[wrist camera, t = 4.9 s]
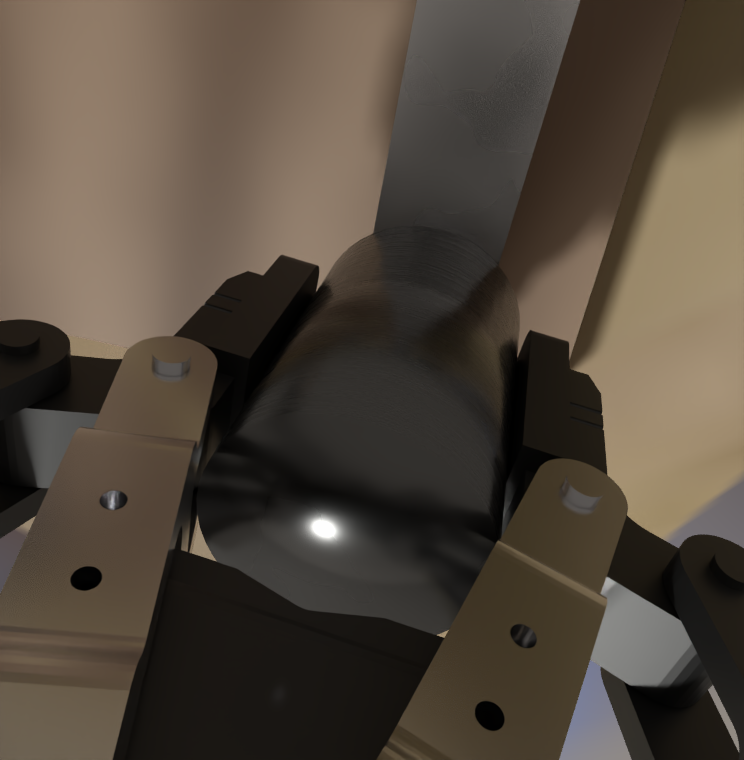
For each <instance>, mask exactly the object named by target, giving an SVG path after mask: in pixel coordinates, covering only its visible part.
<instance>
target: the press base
mask: <svg viewBox="0 0 744 760" xmlns="http://www.w3.org/2000/svg"><path fill="white" fill-rule="evenodd" d="M685 1H686V0H580V3H579V6H578V9H577V12H576V16H575V19H574V22H573V25H572V29H571V32H570V35H569V38H568V41H567V45H566V48H565V51H564V54H563V58H562V61H561V64H560V67H559V71H558V74H557V77H556V80H555V84H554V87H553V90H552V93H551V97H550V100H549V103H548V106H547V110H546V113H545V116H544V119H543V123H542V126H541V129H540V132H539V135H538V139H537V142H536V145H535V148H534V152H533V155H532V158H531V161H530V165H529V168H528V171H527V174H526V178H525V181H524V184H523V187H522V191H521V194H520V197H519V200H518V204H517V207H516V210H515V213H514V217H513V220H512V223H511V226H510V230H509V233H508V236H507V239H506V242H505V246H504V249H503V252H502V255H501V259H500V262H499V265H498V266H499V267H500V268H501V269H502V271H503V272H504V274H505V275H506V277H507V278H508V280H509V282H510V284H511V286H512V288H513V290H514V293H515V296H516V299H517V302H518V308H519V313H520V332H519V343H518V354H517V357H518V355H519V352H520V350H521V347H522V345H523V342H524V340H525V338H526V336H527V334H528V332H529V331H530V330H532V331H535V332H539V333H542V334H545V335H549V336H552V337H555V338H559V339H562V340H565V341H568V342H569V360H570V357H571V354H572V351H573V347H574V344H575V341H576V338H577V335H578V332H579V329H580V326H581V323H582V320H583V317H584V313H585V310H586V307H587V304H588V301H589V298H590V295H591V292H592V289H593V286H594V283H595V279H596V276H597V273H598V270H599V267H600V264H601V261H602V258H603V255H604V252H605V249H606V245H607V242H608V239H609V236H610V233H611V230H612V227H613V224H614V221H615V218H616V215H617V212H618V208H619V205H620V202H621V199H622V196H623V193H624V190H625V187H626V184H627V181H628V178H629V174H630V171H631V168H632V165H633V162H634V159H635V156H636V153H637V150H638V147H639V144H640V140H641V137H642V134H643V131H644V128H645V125H646V122H647V119H648V116H649V113H650V110H651V106H652V103H653V100H654V97H655V94H656V91H657V88H658V85H659V82H660V79H661V76H662V72H663V69H664V66H665V63H666V60H667V57H668V54H669V51H670V48H671V45H672V42H673V38H674V35H675V32H676V29H677V26H678V23H679V20H680V17H681V14H682V11H683V8H684V4H685ZM416 3H417V0H0V320H3V321H5V320H16V319H26V320H36V321H41V322H45V323H48V324H51V325H53V326H55V327H57V328H59V329H60V330H62V331H63V332H64V333H65V334H66V335H71V336H75V337H80V338H84V339H89V340H93V341H98V342H103V343H107V344H112V345H116V346H121V347H125V348H130V347H131V346H133V345H134V344H136V343H137V342H140V341H142V340H145V339H148V338H152V337H159V336H174V335H175V334H176V333H177V332H178V331H179V330H180V329H181V328H182V326H183V325H184V324H185V323H186V322H187V321H188V320H189V319H190V318H191V317H192V316H193V315H194V314H195V313H196V312H197V311H198V309H199V308H200V307H201V306H202V305H203V306H204V304H205V302H206V301H207V300H208V299H209V298H210V297H211V296H212V295H214V294H215V291H216V290H217V289H218V288H219V287H220V286H221V285H222V284H223V283H224V282H225V281H226V280H227V279H229V278H231V277H234V276H236V275H239V274H241V273H244V272H247V271H250V272H253V273H257V274H260V275H264V274H265V273H266V271H267V270H268V269H269V268H270V267H271V266H272V264H273V263H274V262H275V261H276V260H277V258H278V257H279V256H280V255H285V256H288V257H292V258H295V259H298V260H302V261H305V262H308V263H312V264H315V265H318V266H319V279H318V284H317V290H318V288H319V287H320V285H321V284H322V282H323V280H324V279H325V277H326V276H327V274H328V273H329V271H330V269H331V268H332V266H333V265H334V263H335V262H336V261H337V260H338V258H339V257H340V256H341V255H342V254H343V253H344V252H345V251H346V250H347V249H348V248H349V247H350V246H352V245H353V244H355V243H356V242H358V241H359V240H360V239H362V238H364V237H366V236H368V235H370V234H373V231H374V226H375V221H376V215H377V210H378V205H379V199H380V194H381V189H382V183H383V178H384V173H385V168H386V162H387V157H388V152H389V146H390V141H391V136H392V130H393V125H394V120H395V114H396V109H397V104H398V98H399V93H400V88H401V82H402V77H403V72H404V66H405V61H406V56H407V51H408V45H409V40H410V35H411V29H412V24H413V19H414V13H415V8H416ZM317 290H316V291H317Z"/></svg>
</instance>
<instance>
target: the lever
mask: <svg viewBox="0 0 744 760" xmlns="http://www.w3.org/2000/svg"><path fill="white" fill-rule="evenodd" d="M579 3H580V0H417V3H416V8H415V13H414V19H413V24H412V29H411V35H410V40H409V45H408V51H407V56H406V61H405V66H404V72H403V77H402V82H401V88H400V93H399V98H398V104H397V109H396V114H395V120H394V125H393V130H392V136H391V141H390V146H389V152H388V157H387V162H386V168H385V173H384V178H383V183H382V189H381V194H380V199H379V205H378V210H377V215H376V221H375V226H374V231H373V234H370V235H368V236H366V237H364V238H362V239H360V240H359V241H358V242H356V243H355V244H353V245H352V246H350V247H349V248H348V249H347V250H346V251H345V252H344V253H343V254H342V255H341V256H340V257H339V258H338V260H337V261H336V262H335V263H334V265H333V266H332V268H331V269H330V271H329V273H328V274H327V276H326V277H325V279H324V280H323V282H322V284H321V285H320V287H319V288H318V290H317V291H316V293H315V295H314V296H313V298H312V299H311V301H310V302H309V304H308V306H307V307H306V309H305V310H304V312H303V313H302V315H301V317H300V318H299V320H298V321H297V323H296V324H295V326H294V328H293V329H292V331H291V332H290V334H289V335H288V337H287V339H286V340H285V342H284V343H283V345H282V346H281V348H280V350H279V351H278V353H277V354H276V356H275V357H274V359H273V361H272V362H271V364H270V365H269V367H268V368H267V370H266V372H265V373H264V375H263V376H262V378H261V380H260V381H259V383H258V384H257V386H256V387H255V389H254V390H253V392H252V394H251V395H250V397H249V398H248V400H247V402H246V403H245V405H244V406H243V408H242V409H241V411H240V413H239V414H238V416H237V417H236V419H235V420H234V422H233V424H232V425H231V427H230V428H229V430H228V431H227V433H226V434H225V436H224V438H223V439H222V441H221V442H220V444H219V446H218V447H217V449H216V450H215V452H214V453H213V455H212V457H211V458H210V460H209V461H208V463H207V465H206V467H205V469H204V470H203V472H202V475H201V478H200V481H199V484H198V491H197V498H196V501H197V515H198V520H199V525H200V529H201V531H202V534H203V537H204V539H205V542H206V544H207V545H208V547H209V549H210V551H211V553H212V555H213V556H214V558H215V559H216V561H217V562H219V563H222V564H225V565H228V566H231V567H234V568H237V569H238V570H240V571H242V572H243V573H245V574H246V575H248V576H250V577H251V578H253V579H255V580H256V581H258V582H259V583H261V584H263V585H264V586H266V587H268V588H269V589H271V590H272V591H274V592H276V593H277V594H279V595H281V596H282V597H284V598H285V599H287V600H289V601H290V602H292V603H294V604H295V605H297V606H299V607H301V608H303V609H306V610H311V611H320V612H330V613H340V614H350V615H360V616H369V617H379V618H386V619H389V620H392V621H395V622H398V623H401V624H404V625H407V626H410V627H413V628H416V629H419V630H422V631H425V632H428V633H431V634H434V635H437V634H440V633H442V632H445V631H447V630H449V629H450V627H451V625H452V623H453V621H454V620H455V618H456V616H457V614H458V612H459V610H460V609H461V607H462V605H463V603H464V601H465V599H466V598H467V596H468V594H469V592H470V590H471V588H472V586H473V585H474V583H475V581H476V579H477V577H478V575H479V574H480V572H481V570H482V568H483V566H484V564H485V563H486V561H487V559H488V557H489V555H490V553H491V552H492V550H493V548H494V546H495V544H496V543H497V541H498V540H499V539H501V536H502V524H503V513H504V502H505V490H506V479H507V468H508V456H509V445H510V434H511V422H512V411H513V400H514V388H515V377H516V366H517V354H518V343H519V332H520V313H519V308H518V302H517V299H516V296H515V293H514V290H513V288H512V286H511V284H510V282H509V280H508V278H507V277H506V275H505V274H504V272H503V271H502V269H501V268H500V267H499V266H498V265H499V262H500V259H501V255H502V252H503V249H504V246H505V242H506V239H507V236H508V233H509V230H510V226H511V223H512V220H513V217H514V213H515V210H516V207H517V204H518V200H519V197H520V194H521V191H522V187H523V184H524V181H525V178H526V174H527V171H528V168H529V165H530V161H531V158H532V155H533V152H534V148H535V145H536V142H537V139H538V135H539V132H540V129H541V126H542V123H543V119H544V116H545V113H546V110H547V106H548V103H549V100H550V97H551V93H552V90H553V87H554V84H555V80H556V77H557V74H558V71H559V67H560V64H561V61H562V58H563V54H564V51H565V48H566V45H567V41H568V38H569V35H570V32H571V29H572V25H573V22H574V19H575V16H576V12H577V9H578V6H579Z"/></svg>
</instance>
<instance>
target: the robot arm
mask: <svg viewBox="0 0 744 760" xmlns="http://www.w3.org/2000/svg"><path fill="white" fill-rule="evenodd" d="M318 279H319V266H318V265H315V264H312V263H308V262H305V261H302V260H298V259H295V258H292V257H288V256H285V255H280V256H279V257H278V258H277V260H276V261H275V262H274V263H273V264H272V266H271V267H270V268H269V269H268V270H267V271H266V273H265V274H264V275H260V274H257V273H253V272H250V271H247V272H244V273H241V274H239V275H236V276H234V277H231V278H229V279H227V280H226V281H225V282H224V283H223V284H222V285H221V286H220V287H219V288H218V289H217V290H216V291H215V294H214V295H212V296H211V297H210V298H209V299H208V300H207V301H206V302H205V304H204V306H203V305H202V306H201V307H200V308H199V309H198V311H197V312H196V313H195V314H194V315H193V316H192V317H191V318H190V319H189V320H188V321H187V322H186V323H185V324H184V325H183V326H182V328H181V329H180V330H179V331H178V332H177V333H176V334H175V335H174V336H159V337H152V338H148V339H145V340H142V341H140V342H137V343H136V344H134V345H133V346H131V347H130V348H129V349H128V350H127V352H126V353H125V355H124V357H123V359H103V358H92V357H82V356H72V355H71V354H70V341H69V338H68V337H67V335H66V334H65V333H64V332H63V331H62V330H60V329H59V328H57V327H55V326H53V325H51V324H48V323H45V322H41V321H36V320H26V319H16V320H5V321H0V538H2V537H3V536H5V535H6V534H8V533H9V532H11V531H13V530H14V529H16V528H17V527H19V526H20V525H22V524H24V523H25V522H27V521H28V520H30V519H31V518H33V517H34V516H36V517H35V519H34V522H33V524H32V526H31V528H30V530H29V533H28V535H27V537H26V539H25V541H24V543H23V546H22V548H21V550H20V552H19V554H18V556H17V559H16V561H15V563H14V565H13V567H12V570H11V572H10V574H9V576H8V578H7V580H6V583H5V585H4V587H3V589H2V591H1V593H0V760H559V758H560V755H561V752H562V748H563V745H564V742H565V738H566V735H567V732H568V729H569V726H570V723H571V719H572V716H573V713H574V710H575V706H576V703H577V700H578V697H579V693H580V690H581V687H582V684H583V681H584V678H585V674H586V671H587V668H588V665H589V661H590V660H591V661H593V662H595V663H596V664H598V665H599V666H601V676H602V680H603V683H604V686H605V689H606V691H607V694H608V697H609V700H610V702H611V704H612V708H613V710H614V713H615V715H616V718H617V721H618V724H619V726H620V729H621V732H622V734H623V737H624V740H625V743H626V745H627V748H628V751H629V753H630V756H631V759H632V760H744V548H742V547H740V546H739V545H737V544H735V543H733V542H731V541H728V540H725V539H723V538H720V537H717V536H712V535H694V536H691V537H689V538H687V539H686V540H685V541H684V542H683V543H682V545H681V546H680V547H679V548H677V547H675V546H673V545H671V544H670V543H668V542H666V541H664V540H663V539H661V538H659V537H657V536H656V535H654V534H652V533H650V532H649V531H647V530H645V529H644V528H642V527H641V526H639V525H638V524H636V523H635V522H634V521H633V520H631V519H630V518H629V517H628V516H627V511H628V504H627V500H626V497H625V495H624V494H623V492H622V490H621V489H620V488H619V486H618V485H617V484H616V483H615V482H614V481H613V480H612V479H611V478H610V477H609V476H607V464H606V452H605V439H604V430H602V429H603V415H601V414H602V402H601V393H600V392H599V390H598V389H597V387H596V386H595V384H594V383H593V381H592V380H591V378H590V376H589V375H587V374H584V373H580V372H577V371H574V370H571V369H570V366H569V342H568V341H565V340H562V339H559V338H555V337H552V336H549V335H545V334H542V333H539V332H535V331H532V330H530V331H529V332H528V334H527V336H526V338H525V340H524V342H523V345H522V347H521V350H520V352H519V355H518V357H517V366H516V377H515V388H514V400H513V411H512V422H511V434H510V445H509V456H508V468H507V479H506V490H505V502H504V513H503V524H502V536H501V539H499V540H498V541H497V543H496V544H495V546H494V548H493V550H492V552H491V553H490V555H489V557H488V559H487V561H486V563H485V564H484V566H483V568H482V570H481V572H480V574H479V575H478V577H477V579H476V581H475V583H474V585H473V586H472V588H471V590H470V592H469V594H468V596H467V598H466V599H465V601H464V603H463V605H462V607H461V609H460V610H459V612H458V614H457V616H456V618H455V620H454V621H453V623H452V625H451V627H450V629H449V631H448V632H447V634H446V636H445V638H443V637H440V636H437V635H434V634H431V633H428V632H425V631H422V630H419V629H416V628H413V627H410V626H407V625H404V624H401V623H398V622H395V621H392V620H389V619H386V618H379V617H369V616H360V615H350V614H340V613H330V612H320V611H311V610H306V609H303V608H301V607H299V606H297V605H295V604H294V603H292V602H290V601H289V600H287V599H285V598H284V597H282V596H281V595H279V594H277V593H276V592H274V591H272V590H271V589H269V588H268V587H266V586H264V585H263V584H261V583H259V582H258V581H256V580H255V579H253V578H251V577H250V576H248V575H246V574H245V573H243V572H242V571H240V570H238V569H237V568H234V567H231V566H228V565H225V564H222V563H219V562H216V561H213V560H210V559H207V558H204V557H201V556H198V555H195V554H192V550H193V546H194V541H195V536H196V531H197V526H198V522H199V520H198V515H197V501H196V498H197V491H198V484H199V481H200V478H201V475H202V472H203V470H204V469H205V467H206V465H207V463H208V461H209V460H210V458H211V457H212V455H213V453H214V452H215V450H216V449H217V447H218V446H219V444H220V442H221V441H222V439H223V438H224V436H225V434H226V433H227V431H228V430H229V428H230V427H231V425H232V424H233V422H234V420H235V419H236V417H237V416H238V414H239V413H240V411H241V409H242V408H243V406H244V405H245V403H246V402H247V400H248V398H249V397H250V395H251V394H252V392H253V390H254V389H255V387H256V386H257V384H258V383H259V381H260V380H261V378H262V376H263V375H264V373H265V372H266V370H267V368H268V367H269V365H270V364H271V362H272V361H273V359H274V357H275V356H276V354H277V353H278V351H279V350H280V348H281V346H282V345H283V343H284V342H285V340H286V339H287V337H288V335H289V334H290V332H291V331H292V329H293V328H294V326H295V324H296V323H297V321H298V320H299V318H300V317H301V315H302V313H303V312H304V310H305V309H306V307H307V306H308V304H309V302H310V301H311V299H312V298H313V296H314V295H315V293H316V290H317V284H318ZM712 685H713V686H714V688H715V690H716V692H717V693H718V696H719V697H720V700H721V702H722V704H723V706H724V707H725V710H726V712H727V713H728V716H729V717H730V720H731V722H732V723H733V726H734V728H735V730H736V733H737V736H738V741H739V749H740V750H739V752H738V750H737V748H736V746H735V744H734V742H733V740H732V738H731V736H730V734H729V732H728V730H727V728H726V726H725V724H724V722H723V720H722V718H721V715H720V713H719V712H718V710H717V708H716V705H715V703H714V701H713V699H712V697H711V695H710V693H709V691H708V689H709V688H710V687H711V686H712Z"/></svg>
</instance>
